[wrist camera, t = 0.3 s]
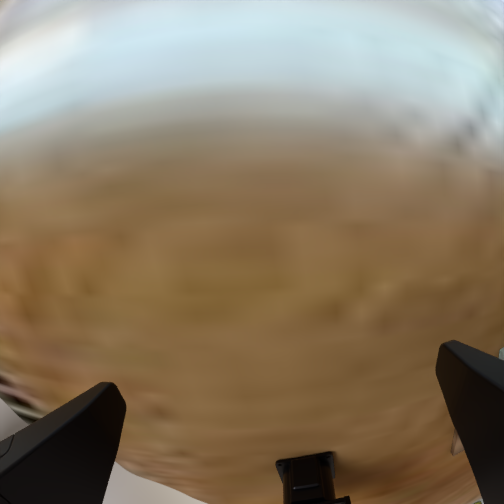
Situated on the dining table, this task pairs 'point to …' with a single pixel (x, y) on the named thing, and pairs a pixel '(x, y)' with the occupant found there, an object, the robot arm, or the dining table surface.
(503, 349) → the pale blue rectangular block
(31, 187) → the dining table surface
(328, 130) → the dining table surface
